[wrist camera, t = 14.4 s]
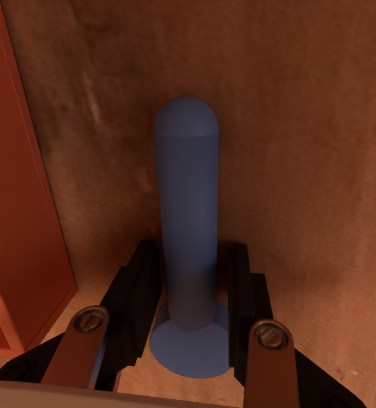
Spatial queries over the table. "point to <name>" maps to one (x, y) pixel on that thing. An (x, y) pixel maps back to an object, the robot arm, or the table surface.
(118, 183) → the table surface
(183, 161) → the blue spoon
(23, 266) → the red bin
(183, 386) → the table surface
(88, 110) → the table surface
